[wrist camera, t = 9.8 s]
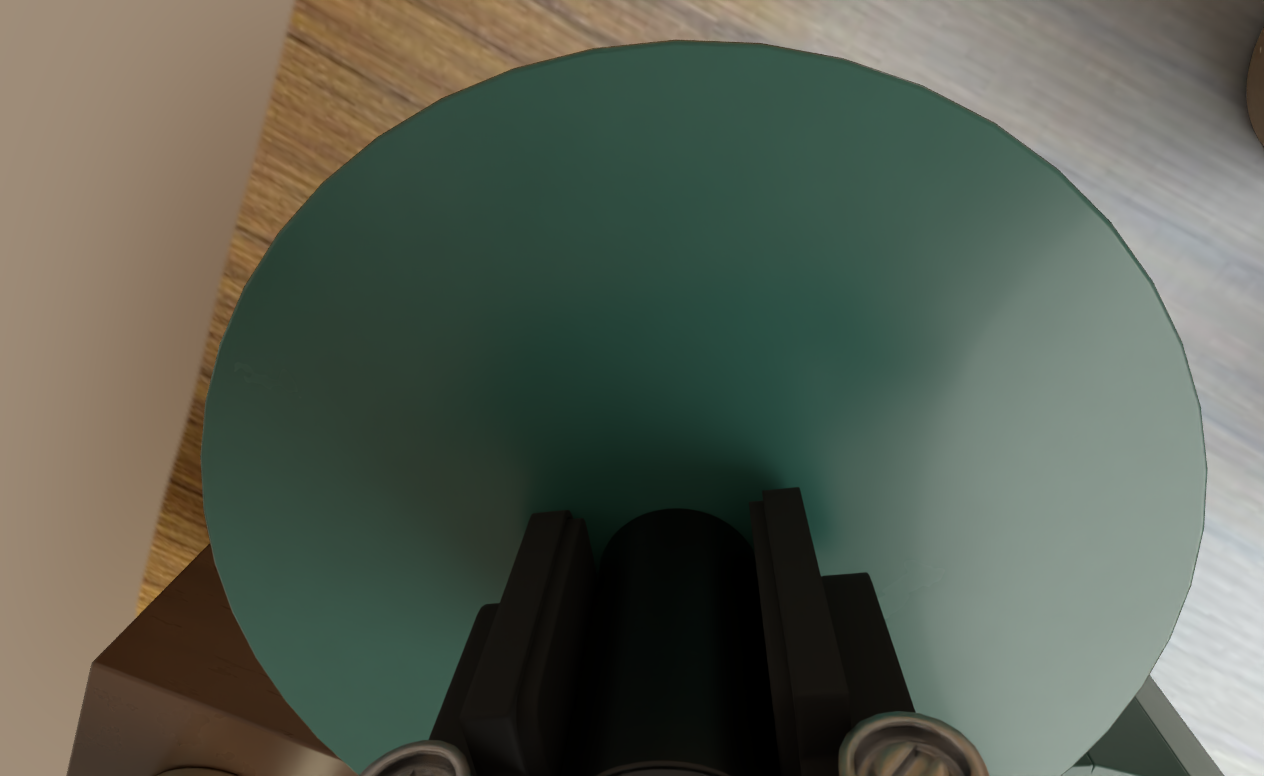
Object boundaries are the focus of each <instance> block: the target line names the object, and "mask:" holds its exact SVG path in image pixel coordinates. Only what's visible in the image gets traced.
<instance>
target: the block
mask: <svg viewBox="0 0 1264 776" xmlns="http://www.w3.org/2000/svg"><path fill="white" fill-rule="evenodd" d="M180 768H208V769H214V770H220V771H224V772H227V773H231V774H234V775H237V776H359V775H357V774H356V773H355V772H354V771H352V770H351V769H350V768H349V767H348V766H347V765H346V764H345V763H344V762H343V761H342V760H341V759H340V758H338V757H337V756H336V755H335V754H334V753H333V752H332V751H331V750H330V749H329V748H328V747H327V746H325V745H324V744H323V743H322V742H321V741H320V740H319V739H318V738H317V737H316V736H315V735H314V733H313V732H312V731H311V730H310V729H309V728H308V727H307V725H306V724H305V723H304V722H303V721H302V720H301V718H300V717H299V716H298V715H297V714H296V713H295V712H294V710H293V709H292V708H291V707H290V706H289V705H288V703H287V702H286V701H285V700H284V699H283V697H282V696H281V694H280V693H279V691H278V690H277V688H276V687H275V685H274V684H273V682H272V681H271V679H270V678H269V677H268V675H267V674H266V672H265V671H264V669H263V668H262V666H261V665H260V663H259V662H258V660H257V659H256V657H255V655H254V653H253V652H252V650H251V648H250V646H249V644H248V642H247V640H246V638H245V636H244V634H243V632H242V630H241V628H240V626H239V624H238V622H237V620H236V619H235V617H234V615H233V613H232V610H231V607H230V605H229V602H228V599H227V596H226V593H225V591H224V588H223V585H222V582H221V580H220V577H219V574H218V571H217V568H216V566H215V563H214V558H213V553H212V548H211V544H209V545H208V546H207V547H206V548H205V549H204V550H203V551H202V552H201V553H200V554H199V555H198V556H197V557H196V558H195V559H194V560H193V561H192V562H191V563H190V564H189V565H188V566H187V567H186V568H185V569H184V570H183V571H182V572H181V573H180V574H179V575H178V576H177V577H176V578H175V579H174V580H173V581H172V582H171V583H170V584H169V585H168V586H167V587H166V588H165V589H164V590H163V591H162V592H161V593H160V594H159V595H158V596H157V597H156V598H155V599H154V600H153V601H152V602H151V603H150V604H149V605H148V606H147V607H146V608H145V609H144V610H143V611H142V612H141V614H140V615H139V616H138V617H137V618H136V619H135V620H134V621H133V622H132V623H131V624H130V625H129V626H128V627H127V628H126V629H125V630H124V631H123V632H122V633H121V634H120V635H119V636H118V637H117V638H116V639H115V640H114V641H113V642H112V643H111V644H110V645H109V646H108V647H107V648H106V649H105V650H104V651H103V652H102V653H101V654H100V655H99V656H98V657H97V658H96V659H95V660H94V661H93V662H92V665H91V668H90V673H89V677H88V682H87V687H86V691H85V696H84V700H83V704H82V709H81V713H80V718H79V722H78V727H77V731H76V735H75V740H74V744H73V749H72V753H71V758H70V763H69V767H68V771H67V776H157V775H159V774H161V773H164V772H166V771H170V770H174V769H180Z"/></svg>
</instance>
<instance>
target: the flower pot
mask: <svg viewBox="0 0 1264 776" xmlns="http://www.w3.org/2000/svg"><path fill="white" fill-rule="evenodd" d="M1247 107H1248V113H1249V117H1250V121H1251V124H1252V126H1253V129H1254V131H1255V133H1256V135H1257V137H1258V139H1259V140H1260V142H1261V144H1262V145H1263V146H1264V28H1263V29H1262V31H1261V33H1260V36H1259V38H1258V40H1257V43H1256V45H1255V48H1254V51H1253V54H1252V58H1251V61H1250V65H1249V70H1248V76H1247Z"/></svg>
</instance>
